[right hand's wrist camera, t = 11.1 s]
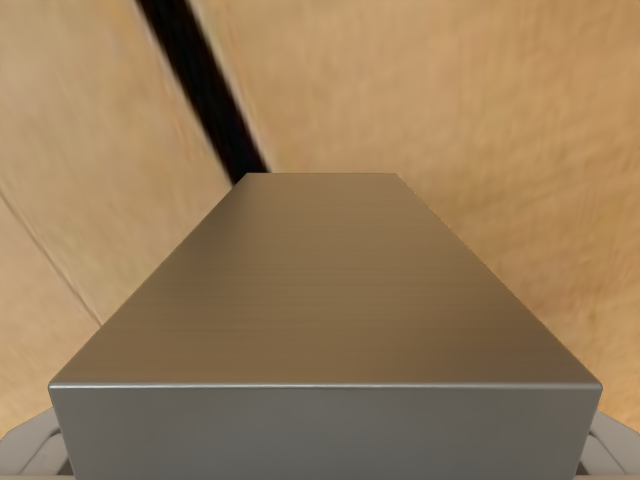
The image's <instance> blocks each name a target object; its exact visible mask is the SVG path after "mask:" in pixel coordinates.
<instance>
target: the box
mask: <svg viewBox="0 0 640 480" xmlns="http://www.w3.org/2000/svg"><path fill="white" fill-rule="evenodd" d="M602 390H603V387H602V384H601V382H600V381H599V380H598V379H597V378H596V377H595V376H594V375H593V374H592V373H591V372H590V371H589V370H588V369H587V368H586V367H585V366H584V365H583V364H582V363H581V362H580V361H579V360H578V359H577V358H576V357H575V356H574V355H573V354H572V353H571V352H570V351H569V350H568V349H567V348H566V347H565V346H564V345H563V344H562V343H561V342H560V341H559V340H558V339H557V338H556V337H555V336H554V335H553V334H552V333H551V332H550V331H549V330H548V328H547V327H546V326H545V325H544V324H543V323H542V322H541V321H540V320H539V319H538V318H537V317H536V316H535V315H534V314H533V313H532V312H531V311H530V310H529V309H528V308H527V307H526V306H525V305H524V304H523V303H522V302H521V301H520V300H519V299H518V298H517V297H516V296H515V295H514V294H513V293H512V292H511V291H510V290H509V289H508V288H507V287H506V286H505V285H504V284H503V283H502V282H501V281H500V280H499V279H498V278H497V277H496V276H495V274H494V273H493V272H492V271H491V270H490V269H489V268H488V267H487V266H486V265H485V264H484V263H483V262H482V261H481V260H480V259H479V258H478V257H477V256H476V255H475V254H474V253H473V252H472V251H471V250H470V249H469V248H468V247H467V246H466V245H465V244H464V243H463V242H462V241H461V240H460V239H459V238H458V237H457V236H456V235H455V234H454V233H453V232H452V231H451V230H450V229H449V228H448V227H447V226H446V225H445V224H444V223H443V222H442V220H441V219H440V218H439V217H438V216H437V215H436V214H435V213H434V212H433V211H432V210H431V209H430V208H429V207H428V206H427V205H426V204H425V203H424V202H423V201H422V200H421V199H420V198H419V197H418V196H417V195H416V194H415V193H414V192H413V191H412V190H411V189H410V188H409V187H408V186H407V185H406V184H405V183H404V182H403V181H402V180H401V179H400V178H399V177H398V176H397V175H396V174H375V173H247V174H246V175H245V176H244V177H243V178H242V179H241V180H240V181H239V182H238V183H237V184H236V185H235V186H234V187H233V188H232V189H231V190H230V192H229V193H228V194H227V195H226V196H225V197H224V198H223V199H222V200H221V201H220V202H219V203H218V204H217V205H216V206H215V207H214V208H213V209H212V211H211V212H210V213H209V214H208V215H207V216H206V217H205V218H204V219H203V220H202V221H201V222H200V223H199V224H198V225H197V226H196V227H195V229H194V230H193V231H192V232H191V233H190V234H189V235H188V236H187V237H186V238H185V239H184V240H183V241H182V242H181V243H180V244H179V245H178V247H177V248H176V249H175V250H174V251H173V252H172V253H171V254H170V255H169V256H168V257H167V258H166V259H165V260H164V261H163V262H162V263H161V265H160V266H159V267H158V268H157V269H156V270H155V271H154V272H153V273H152V274H151V275H150V276H149V277H148V278H147V279H146V280H145V281H144V283H143V284H142V285H141V286H140V287H139V288H138V289H137V290H136V291H135V292H134V293H133V294H132V295H131V296H130V297H129V298H128V299H127V301H126V302H125V303H124V304H123V305H122V306H121V307H120V308H119V309H118V310H117V311H116V312H115V313H114V314H113V315H112V316H111V317H110V319H109V320H108V321H107V322H106V323H105V324H104V325H103V326H102V327H101V328H100V329H99V330H98V331H97V332H96V333H95V334H94V335H93V336H92V338H91V339H90V340H89V341H88V342H87V343H86V344H85V345H84V346H83V347H82V348H81V349H80V350H79V351H78V352H77V353H76V354H75V356H74V357H73V358H72V359H71V360H70V361H69V362H68V363H67V364H66V365H65V366H64V367H63V368H62V369H61V370H60V371H59V372H58V374H57V375H56V376H55V377H54V378H53V379H52V380H51V381H50V382H49V384H48V391H49V394H50V398H51V401H52V404H53V407H54V411H55V414H56V417H57V421H58V424H59V427H60V430H61V434H62V437H63V440H64V444H65V447H66V450H67V454H68V457H69V460H70V463H71V467H72V470H73V473H74V477H75V480H574V477H575V474H576V471H577V468H578V464H579V461H580V458H581V455H582V452H583V449H584V446H585V443H586V440H587V437H588V434H589V430H590V427H591V424H592V421H593V418H594V415H595V412H596V409H597V406H598V403H599V400H600V396H601V393H602Z"/></svg>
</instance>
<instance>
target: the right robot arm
mask: <svg viewBox="0 0 640 480" xmlns="http://www.w3.org/2000/svg"><path fill="white" fill-rule="evenodd" d="M0 480H75V477H74V473H73V470H72V467H71V463H70V460H69V457H68V454H67V450H66V447H65V444H64V440H63V437H62V434H61V430H60V427H59V424H58V421H57V417H56V414H55V411H54V407H52V408H50V409H48V410H46V411H44V412H43V413H41V414H39V415H37V416H35V417H34V418H32V419H30V420H28V421H26V422H25V423H23V424H21V425H19V426H17V427H16V428H14V429H12V430H10V431H8V433H7V434H6V435H5V436H4V437H3V438H2V439H1V440H0ZM574 480H640V434H639V433H638V432H637V431H635V430H633V429H631V428H629V427H628V426H626V425H624V424H622V423H620V422H619V421H617V420H615V419H613V418H611V417H609V416H608V415H606V414H604V413H602V412H600V411H599V410H597V409H596V412H595V415H594V418H593V421H592V424H591V427H590V430H589V434H588V437H587V440H586V443H585V446H584V449H583V452H582V455H581V458H580V461H579V464H578V468H577V471H576V474H575V477H574Z"/></svg>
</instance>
